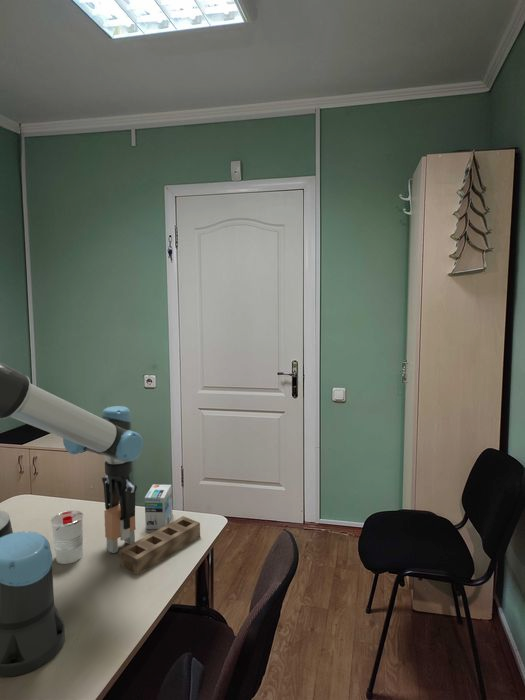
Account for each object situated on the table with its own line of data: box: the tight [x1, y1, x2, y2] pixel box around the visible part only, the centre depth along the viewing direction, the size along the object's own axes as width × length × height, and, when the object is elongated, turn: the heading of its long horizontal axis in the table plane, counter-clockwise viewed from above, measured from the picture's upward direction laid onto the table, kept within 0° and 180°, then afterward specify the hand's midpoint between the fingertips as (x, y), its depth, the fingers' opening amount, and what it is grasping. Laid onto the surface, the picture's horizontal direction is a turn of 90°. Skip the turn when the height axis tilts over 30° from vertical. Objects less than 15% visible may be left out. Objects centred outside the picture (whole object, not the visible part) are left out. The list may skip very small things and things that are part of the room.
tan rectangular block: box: [103, 503, 137, 554], centre depth 132 cm, size 8×4×12 cm, turn 144°
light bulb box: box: [144, 483, 173, 530], centre depth 148 cm, size 11×7×11 cm, turn 179°
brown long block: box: [119, 516, 201, 576], centre depth 131 cm, size 24×7×4 cm, turn 144°
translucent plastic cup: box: [50, 510, 84, 565], centre depth 128 cm, size 10×8×12 cm
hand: (120, 536), depth 133 cm, fingers closed on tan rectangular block, 3 cm apart
